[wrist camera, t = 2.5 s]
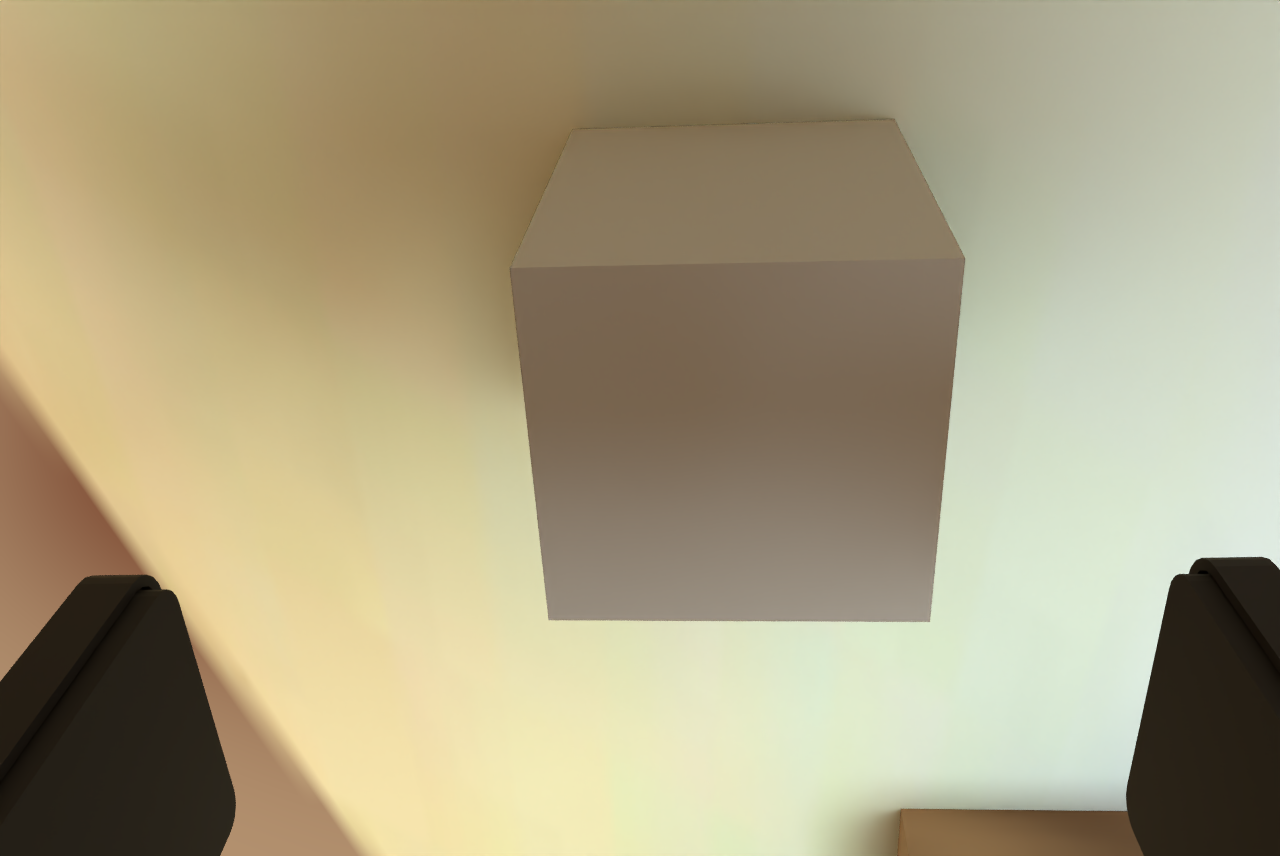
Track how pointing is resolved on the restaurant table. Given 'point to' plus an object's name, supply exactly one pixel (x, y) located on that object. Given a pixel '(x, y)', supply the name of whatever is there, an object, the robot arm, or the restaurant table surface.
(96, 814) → the robot arm
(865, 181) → the grey block
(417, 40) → the restaurant table surface
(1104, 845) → the walnut block
